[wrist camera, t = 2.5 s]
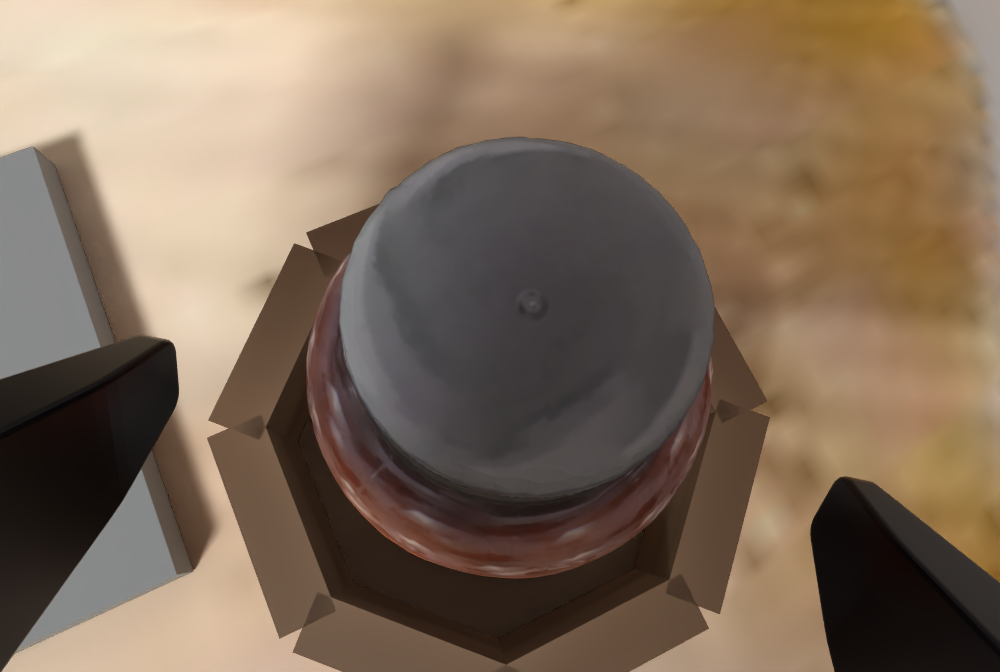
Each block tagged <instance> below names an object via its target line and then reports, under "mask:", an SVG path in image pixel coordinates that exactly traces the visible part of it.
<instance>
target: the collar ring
mask: <svg viewBox="0 0 1000 672" xmlns="http://www.w3.org/2000/svg"><path fill="white" fill-rule="evenodd" d="M379 205H380V204H378V205H376V206H373V207H371V208H368V209H365V210H363V211H360V212H358V213H355V214H353V215H350V216H347V217H345V218H342V219H340V220H337V221H335V222H332V223H329V224H327V225H324V226H322V227H319V228H317V229H314V230H312V231H309V232H306V233H307V236H308V238H309V240H310V243H311V245H312V247H313V250H311V249H308V248H306V247H303V246H300V245H298V244H295V243H294V245H293V247H292V249H291V251H290V253H289V255H288V257H287V259H286V261H285V263H284V266H283V268H282V270H281V272H280V274H279V276H278V278H277V280H276V282H275V284H274V286H273V288H272V290H271V292H270V294H269V296H268V298H267V300H266V303H265V305H264V307H263V309H262V311H261V313H260V315H259V317H258V319H257V321H256V323H255V325H254V327H253V329H252V331H251V333H250V335H249V338H248V340H247V342H246V344H245V346H244V348H243V350H242V352H241V354H240V356H239V358H238V360H237V362H236V364H235V366H234V368H233V370H232V373H231V375H230V377H229V379H228V381H227V383H226V385H225V387H224V389H223V391H222V393H221V395H220V397H219V399H218V401H217V403H216V405H215V407H214V410H213V412H212V414H211V416H210V418H209V420H208V421H211V422H214V423H216V424H219V425H222V426H224V427H227V428H229V429H227V430H224V431H222V432H220V433H217V434H215V435H213V436H210V437H208V438H207V439H208V442H209V445H210V447H211V450H212V453H213V456H214V459H215V461H216V464H217V467H218V470H219V472H220V475H221V478H222V481H223V483H224V486H225V489H226V492H227V494H228V497H229V500H230V503H231V506H232V508H233V511H234V514H235V517H236V519H237V522H238V525H239V528H240V530H241V533H242V536H243V539H244V541H245V544H246V547H247V550H248V553H249V555H250V558H251V561H252V564H253V566H254V569H255V572H256V575H257V577H258V580H259V583H260V586H261V588H262V591H263V594H264V597H265V600H266V602H267V605H268V608H269V611H270V613H271V616H272V619H273V622H274V624H275V627H276V630H277V633H278V636H279V638H282V637H284V636H286V635H288V634H290V633H292V632H294V631H296V630H298V629H301V628H302V631H301V633H300V636H299V638H298V640H297V643H296V645H295V648H294V650H293V653H296V654H298V655H301V656H304V657H306V658H309V659H311V660H314V661H316V662H319V663H322V664H324V665H327V666H329V667H332V668H334V669H337V670H339V671H342V672H629V671H631V670H633V669H635V668H637V667H639V666H641V665H642V664H644V663H646V662H648V661H650V660H652V659H653V658H655V657H657V656H659V655H661V654H663V653H665V652H666V651H668V650H670V649H672V648H674V647H676V646H677V645H679V644H681V643H683V642H685V641H687V640H689V639H690V638H692V637H694V636H696V635H698V634H700V633H701V632H703V631H705V630H707V629H709V627H708V625H707V623H706V621H705V619H704V617H703V615H702V613H701V611H700V609H699V607H698V606H700V607H702V608H705V609H708V610H710V611H713V612H715V613H718V614H720V611H721V607H722V603H723V600H724V596H725V592H726V588H727V584H728V580H729V576H730V572H731V568H732V564H733V560H734V556H735V552H736V548H737V544H738V541H739V537H740V533H741V529H742V525H743V521H744V517H745V513H746V509H747V505H748V501H749V497H750V493H751V489H752V485H753V482H754V478H755V474H756V470H757V466H758V462H759V458H760V454H761V450H762V446H763V442H764V438H765V434H766V430H767V426H768V423H769V419H770V417H767V416H764V415H761V414H759V413H756V412H753V411H750V409H752V408H754V407H756V406H759V405H761V404H763V403H765V402H767V400H766V398H765V396H764V394H763V392H762V391H761V389H760V387H759V385H758V384H757V382H756V380H755V378H754V376H753V375H752V373H751V371H750V369H749V367H748V366H747V364H746V362H745V360H744V359H743V357H742V355H741V353H740V351H739V350H738V348H737V346H736V344H735V342H734V341H733V339H732V337H731V335H730V333H729V332H728V330H727V328H726V326H725V325H724V323H723V321H722V319H721V317H720V316H719V314H718V312H717V310H716V308H715V307H714V331H713V338H714V341H713V345H712V349H711V360H712V368H713V375H712V399H711V405H710V411H709V417H708V421H707V425H706V430H705V435H704V437H703V440H702V442H701V445H700V448H699V451H698V454H697V456H696V458H695V460H694V463H693V466H692V468H691V469H690V471H689V473H688V475H687V476H686V478H685V480H684V482H683V484H682V485H681V487H680V488H679V490H678V491H677V493H676V494H675V495H674V497H673V498H672V499H671V501H670V502H669V504H668V505H667V506H666V508H665V509H664V510H663V511H662V512H661V513H660V514H659V515H658V516H657V517H656V519H654V521H653V522H652V523H651V524H649V525H648V526H647V527H646V529H645V533H644V536H643V540H642V543H641V547H640V550H639V553H638V557H637V560H636V564H635V567H634V569H633V570H631V571H629V572H627V573H625V574H623V575H621V576H619V577H617V578H615V579H613V580H611V581H609V582H607V583H606V584H604V585H602V586H600V587H598V588H596V589H594V590H592V591H590V592H588V593H586V594H584V595H582V596H580V597H578V598H576V599H574V600H572V601H571V602H569V603H567V604H565V605H563V606H561V607H559V608H557V609H555V610H553V611H551V612H549V613H547V614H545V615H543V616H541V617H539V618H537V619H536V620H534V621H532V622H530V623H528V624H526V625H524V626H522V627H520V628H518V629H516V630H514V631H512V632H510V633H508V634H506V635H504V636H503V637H501V638H499V639H497V638H495V637H492V636H489V635H487V634H484V633H482V632H479V631H476V630H474V629H471V628H469V627H466V626H463V625H461V624H458V623H456V622H453V621H450V620H448V619H445V618H443V617H440V616H437V615H435V614H432V613H430V612H427V611H424V610H422V609H419V608H417V607H414V606H411V605H409V604H406V603H404V602H401V601H398V600H396V599H393V598H391V597H388V596H385V595H383V594H380V593H378V592H375V591H372V590H370V589H367V588H365V587H362V586H359V585H357V584H354V583H353V581H352V579H351V576H350V574H349V571H348V569H347V566H346V563H345V561H344V558H343V556H342V553H341V551H340V548H339V546H338V543H337V540H336V538H335V535H334V533H333V530H332V528H331V525H330V523H329V520H328V518H327V515H326V512H325V510H324V507H323V505H322V502H321V500H320V497H319V495H318V492H317V489H316V487H315V484H314V482H313V479H312V477H311V474H310V472H309V469H308V466H307V464H306V461H305V459H304V456H303V454H302V451H301V449H300V446H299V444H298V440H299V438H300V436H301V434H302V431H303V429H304V427H305V425H306V422H307V420H308V418H309V416H310V414H309V407H308V402H307V368H306V358H307V352H308V344H309V339H310V335H311V331H312V327H313V323H314V320H315V318H316V315H317V312H318V309H319V306H320V304H321V301H322V299H323V297H324V294H325V292H326V290H327V288H328V286H329V283H330V281H331V279H332V278H333V276H334V275H335V273H336V271H337V270H338V268H339V266H340V264H341V263H342V261H343V260H344V259H345V258H346V256H348V255H349V254H350V253H351V251H352V248H353V245H354V242H355V240H356V238H357V237H358V235H359V233H360V231H361V230H362V228H363V226H364V224H365V223H366V221H367V219H368V218H369V216H370V215H371V214H372V213H373V212H374V211H375V210H376V208H377V207H378V206H379Z"/></svg>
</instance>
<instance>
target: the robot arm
mask: <svg viewBox="0 0 1000 672" xmlns="http://www.w3.org/2000/svg"><path fill="white" fill-rule="evenodd" d="M178 396H179V384H178V371H177V359H176V350H175V347H174V344H173V343H172V342H171V341H169V340H167V339H162V338H157V337H152V336H147V335H137V336H134V337H130V338H127V339H124V340H121V341H118V342H115V343H112V344H109V345H105V346H102V347H99V348H96V349H93V350H90V351H87V352H84V353H80V354H77V355H74V356H71V357H68V358H65V359H62V360H58V361H55V362H52V363H49V364H46V365H43V366H40V367H37V368H33V369H30V370H27V371H24V372H21V373H18V374H15V375H11V376H8V377H5V378H2V379H0V672H1V671H2V670H3V669H4V667H5V666H6V664H7V663H8V662H9V660H10V659H11V657H12V656H13V655H14V653H15V652H16V651H17V649H18V648H19V646H20V645H21V644H22V642H23V641H24V639H25V638H26V637H27V635H28V634H29V632H30V631H31V630H32V628H33V627H34V625H35V624H36V623H37V621H38V620H39V618H40V617H41V616H42V614H43V613H44V611H45V610H46V609H47V607H48V606H49V604H50V603H51V602H52V600H53V599H54V597H55V596H56V595H57V593H58V592H59V590H60V589H61V588H62V586H63V585H64V583H65V582H66V581H67V579H68V578H69V576H70V575H71V574H72V572H73V571H74V569H75V568H76V567H77V565H78V564H79V562H80V561H81V560H82V558H83V557H84V555H85V554H86V553H87V551H88V550H89V548H90V547H91V546H92V544H93V543H94V541H95V540H96V539H97V537H98V536H99V534H100V533H101V532H102V530H103V529H104V527H105V526H106V525H107V523H108V522H109V520H110V519H111V518H112V516H113V515H114V513H115V512H116V510H117V509H118V507H119V506H120V504H121V503H122V501H123V500H124V498H125V496H126V495H127V493H128V491H129V490H130V488H131V486H132V485H133V483H134V481H135V479H136V477H137V476H138V474H139V472H140V470H141V468H142V467H143V465H144V463H145V461H146V459H147V458H148V456H149V454H150V452H151V450H152V449H153V447H154V445H155V443H156V442H157V440H158V438H159V436H160V434H161V433H162V431H163V429H164V427H165V425H166V424H167V422H168V420H169V418H170V416H171V415H172V413H173V411H174V409H175V407H176V404H177V401H178ZM810 535H811V543H812V550H813V556H814V563H815V569H816V576H817V582H818V589H819V595H820V602H821V608H822V615H823V621H824V627H825V632H826V638H827V643H828V647H829V651H830V655H831V659H832V663H833V667H834V671H835V672H1000V583H999V582H998V581H997V580H996V579H994V578H993V577H992V576H991V575H989V574H988V573H987V572H986V571H984V570H983V569H982V568H980V567H979V566H978V565H977V564H975V563H974V562H973V561H972V560H970V559H969V558H968V557H967V556H965V555H964V554H963V553H962V552H960V551H959V550H958V549H957V548H955V547H954V546H953V545H952V544H950V543H949V542H948V541H947V540H945V539H944V538H943V537H942V536H940V535H939V534H938V533H937V532H935V531H934V530H933V529H932V528H930V527H929V526H928V525H927V524H925V523H924V522H923V521H922V520H920V519H919V518H918V517H917V516H915V515H914V514H913V513H912V512H910V511H909V510H908V509H906V508H905V507H904V506H903V505H901V504H900V503H899V502H898V501H896V500H895V499H894V498H893V497H891V496H890V495H889V494H888V493H886V492H885V491H884V490H883V489H881V488H880V487H879V486H878V485H876V484H875V483H873V482H870V481H866V480H861V479H856V478H851V477H845V476H844V477H840V478H838V479H837V480H836V481H835V482H834V484H833V485H832V487H831V488H830V490H829V492H828V494H827V495H826V497H825V499H824V501H823V502H822V504H821V506H820V508H819V509H818V511H817V513H816V515H815V516H814V519H813V521H812V524H811V533H810Z"/></svg>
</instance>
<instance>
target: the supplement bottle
mask: <svg viewBox="0 0 1000 672" xmlns="http://www.w3.org/2000/svg"><path fill="white" fill-rule="evenodd" d="M713 331H714V301H713V295H712V289H711V283H710V280H709V277H708V274H707V271H706V268H705V265H704V262H703V259H702V256H701V253H700V250H699V248H698V246H697V245H696V243H695V241H694V240H693V238H692V236H691V234H690V232H689V230H688V228H687V226H686V225H685V224H684V222H683V221H682V219H681V218H680V216H679V215H678V213H677V212H676V211H675V210H674V208H673V207H672V206H671V205H670V204H669V203H668V202H667V201H666V200H665V199H664V197H663V196H662V195H661V194H660V192H659V191H657V190H656V189H655V188H653V187H652V186H651V185H650V184H649V183H647V182H646V181H645V180H644V179H643V178H642V177H640V176H639V175H637V174H636V173H634V172H633V171H631V170H630V169H628V168H627V167H625V166H624V165H622V164H619V163H617V162H616V161H614V160H613V159H611V158H609V157H607V156H605V155H603V154H601V153H599V152H597V151H594V150H592V149H589V148H585V147H582V146H579V145H575V144H572V143H567V142H562V141H555V140H548V139H531V138H526V137H512V138H501V139H494V140H486V141H482V142H479V143H476V144H472V145H467V146H462V147H457V148H455V149H454V150H452V151H449V152H447V153H445V154H443V155H441V156H439V157H438V158H436V159H434V160H432V161H429V162H428V163H427V164H425V165H424V166H422V167H421V168H420V169H418V170H417V171H415V172H414V173H413V174H411V175H410V176H408V177H407V178H405V179H404V180H403V182H401V183H400V184H399V185H398V186H397V187H395V188H393V189H390V190H389V191H388V193H387V194H386V195H385V196H384V198H383V200H382V201H381V203H380V205H379V206H378V207H377V208H376V210H375V211H374V212H373V213H372V214H371V215H370V216H369V218H368V219H367V221H366V223H365V224H364V226H363V228H362V230H361V231H360V233H359V235H358V237H357V238H356V240H355V242H354V245H353V248H352V251H351V253H350V254H349V255H348V256H346V258H345V259H344V260H343V261H342V263H341V264H340V266H339V268H338V270H337V271H336V273H335V275H334V276H333V278H332V279H331V281H330V283H329V286H328V288H327V290H326V292H325V294H324V297H323V299H322V301H321V304H320V306H319V309H318V312H317V315H316V318H315V320H314V323H313V327H312V331H311V335H310V339H309V344H308V352H307V358H306V368H307V402H308V407H309V414H310V417H311V419H312V423H313V430H314V433H315V436H316V439H317V442H318V444H319V447H320V450H321V452H322V455H323V457H324V459H325V461H326V463H327V465H328V467H329V469H330V471H331V473H332V475H333V476H334V478H335V480H336V481H337V483H338V485H339V486H340V488H341V490H342V491H343V492H344V494H345V495H346V497H347V498H348V499H349V500H350V501H351V503H352V504H353V505H354V506H355V507H356V508H357V510H358V511H359V512H360V513H361V514H362V515H363V516H364V517H365V518H366V519H367V520H368V521H369V522H370V523H371V524H372V525H373V526H374V527H375V528H376V529H377V530H378V531H379V532H381V533H382V534H383V535H384V536H385V537H387V538H388V539H390V540H391V541H393V542H394V543H396V544H397V545H399V546H400V547H402V548H403V549H405V550H407V551H408V552H410V553H412V554H414V555H416V556H418V557H420V558H422V559H424V560H427V561H430V562H433V563H435V564H438V565H441V566H444V567H447V568H450V569H454V570H458V571H462V572H466V573H470V574H476V575H481V576H489V577H500V578H530V577H540V576H546V575H552V574H557V573H561V572H564V571H568V570H571V569H574V568H577V567H579V566H582V565H584V564H587V563H589V562H591V561H594V560H596V559H598V558H600V557H602V556H604V555H607V554H609V553H611V552H612V551H614V550H616V549H617V548H619V547H621V546H622V545H624V544H625V543H626V542H628V541H629V540H630V539H632V538H633V537H635V536H636V535H637V534H639V533H640V532H641V531H642V530H643V529H644V528H645V527H647V526H648V525H649V524H651V523H652V522H653V521H654V519H656V517H657V516H658V515H659V514H660V513H661V512H662V511H663V510H664V509H665V508H666V506H667V505H668V504H669V502H670V501H671V499H672V498H673V497H674V495H675V494H676V493H677V491H678V490H679V488H680V487H681V485H682V484H683V482H684V480H685V478H686V476H687V475H688V473H689V471H690V469H691V468H692V466H693V463H694V460H695V458H696V456H697V454H698V451H699V448H700V445H701V442H702V440H703V437H704V435H705V430H706V425H707V421H708V417H709V411H710V405H711V399H712V375H713V368H712V360H711V349H712V345H713V341H714V338H713Z"/></svg>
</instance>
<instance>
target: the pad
mask: <svg viewBox="0 0 1000 672" xmlns="http://www.w3.org/2000/svg"><path fill="white" fill-rule="evenodd" d="M112 343H115V340H114V337H113V334H112V331H111V328H110V326H109V323H108V320H107V317H106V314H105V311H104V308H103V305H102V302H101V299H100V296H99V293H98V290H97V287H96V285H95V282H94V279H93V276H92V273H91V270H90V267H89V264H88V261H87V258H86V255H85V252H84V249H83V246H82V244H81V241H80V238H79V235H78V232H77V229H76V226H75V223H74V220H73V217H72V214H71V211H70V208H69V205H68V203H67V200H66V197H65V194H64V191H63V188H62V185H61V182H60V179H59V176H58V173H57V170H56V167H55V165H54V164H53V163H52V162H51V161H50V160H48V159H47V158H46V157H45V156H44V155H43V154H41V153H40V152H39V151H38V150H37V149H36V148H35V147H33V146H32V147H29V148H26V149H24V150H21V151H18V152H15V153H12V154H9V155H6V156H3V157H0V379H2V378H5V377H8V376H11V375H15V374H18V373H21V372H24V371H27V370H30V369H33V368H37V367H40V366H43V365H46V364H49V363H52V362H55V361H58V360H62V359H65V358H68V357H71V356H74V355H77V354H80V353H84V352H87V351H90V350H93V349H96V348H99V347H102V346H105V345H109V344H112ZM191 572H193V569H192V566H191V563H190V560H189V557H188V554H187V551H186V548H185V545H184V542H183V539H182V536H181V533H180V531H179V528H178V525H177V522H176V519H175V516H174V513H173V510H172V507H171V504H170V501H169V498H168V495H167V492H166V490H165V487H164V484H163V481H162V478H161V475H160V472H159V469H158V466H157V463H156V460H155V457H154V454H153V451H152V450H151V452H150V454H149V456H148V458H147V459H146V461H145V463H144V465H143V467H142V468H141V470H140V472H139V474H138V476H137V477H136V479H135V481H134V483H133V485H132V486H131V488H130V490H129V491H128V493H127V495H126V496H125V498H124V500H123V501H122V503H121V504H120V506H119V507H118V509H117V510H116V512H115V513H114V515H113V516H112V518H111V519H110V520H109V522H108V523H107V525H106V526H105V527H104V529H103V530H102V532H101V533H100V534H99V536H98V537H97V539H96V540H95V541H94V543H93V544H92V546H91V547H90V548H89V550H88V551H87V553H86V554H85V555H84V557H83V558H82V560H81V561H80V562H79V564H78V565H77V567H76V568H75V569H74V571H73V572H72V574H71V575H70V576H69V578H68V579H67V581H66V582H65V583H64V585H63V586H62V588H61V589H60V590H59V592H58V593H57V595H56V596H55V597H54V599H53V600H52V602H51V603H50V604H49V606H48V607H47V609H46V610H45V611H44V613H43V614H42V616H41V617H40V618H39V620H38V621H37V623H36V624H35V625H34V627H33V628H32V630H31V631H30V632H29V634H28V635H27V637H26V638H25V639H24V641H23V642H22V644H21V645H20V646H19V648H18V649H17V651H16V652H15V653H17V652H19V651H22V650H24V649H26V648H28V647H30V646H32V645H35V644H37V643H39V642H41V641H43V640H45V639H48V638H50V637H52V636H54V635H56V634H58V633H61V632H63V631H65V630H67V629H69V628H72V627H74V626H76V625H78V624H80V623H82V622H85V621H87V620H89V619H91V618H93V617H95V616H98V615H100V614H102V613H104V612H106V611H108V610H111V609H113V608H115V607H117V606H119V605H121V604H124V603H126V602H128V601H130V600H132V599H134V598H137V597H139V596H141V595H143V594H145V593H148V592H150V591H152V590H154V589H156V588H158V587H161V586H163V585H165V584H167V583H169V582H171V581H174V580H176V579H178V578H180V577H182V576H184V575H187V574H189V573H191ZM15 653H14V654H15Z"/></svg>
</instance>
